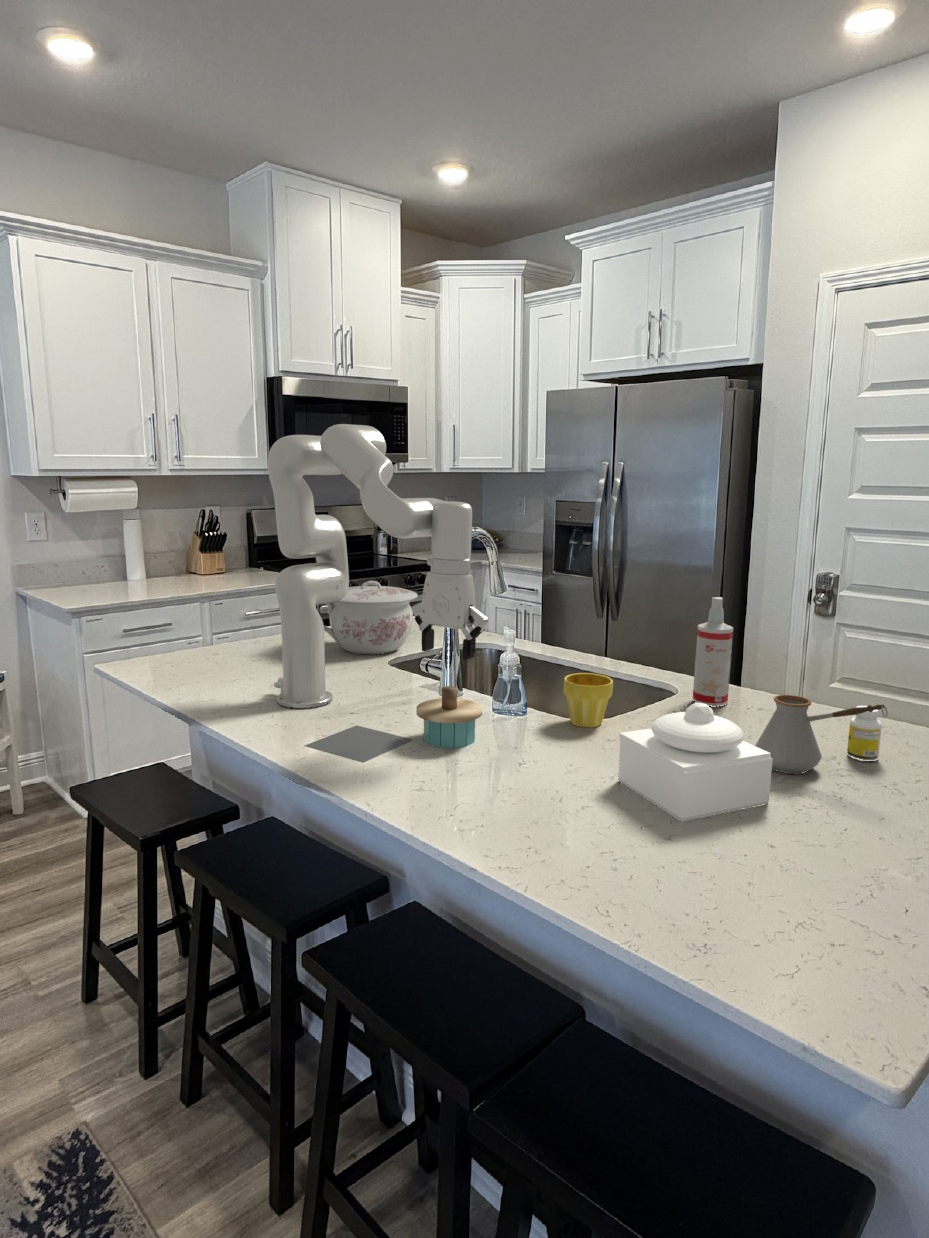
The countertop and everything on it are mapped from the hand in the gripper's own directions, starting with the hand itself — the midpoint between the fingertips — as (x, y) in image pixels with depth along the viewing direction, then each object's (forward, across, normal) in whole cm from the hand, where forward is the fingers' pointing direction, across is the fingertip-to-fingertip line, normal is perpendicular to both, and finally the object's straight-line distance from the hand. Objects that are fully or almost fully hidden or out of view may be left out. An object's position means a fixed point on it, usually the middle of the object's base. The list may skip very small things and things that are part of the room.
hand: (447, 654), depth 155 cm
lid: (+12, +1, 0) cm, 12 cm away
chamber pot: (+20, -64, +52) cm, 85 cm away
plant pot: (+18, +18, +27) cm, 37 cm away
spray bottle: (+17, +35, +58) cm, 70 cm away
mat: (+18, -12, -12) cm, 25 cm away
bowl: (+18, +1, 0) cm, 18 cm away
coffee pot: (+16, +64, +25) cm, 71 cm away
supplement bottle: (+16, +70, +39) cm, 82 cm away
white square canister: (+17, +48, +4) cm, 51 cm away
